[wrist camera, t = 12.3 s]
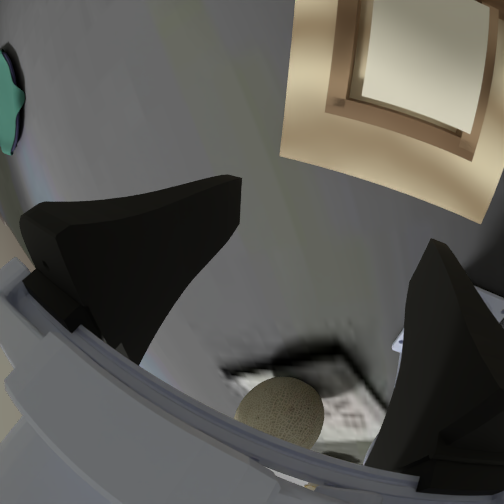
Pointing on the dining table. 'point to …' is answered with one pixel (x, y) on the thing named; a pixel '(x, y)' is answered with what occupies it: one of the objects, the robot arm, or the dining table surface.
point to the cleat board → (388, 114)
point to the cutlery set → (9, 105)
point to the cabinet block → (428, 57)
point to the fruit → (284, 410)
